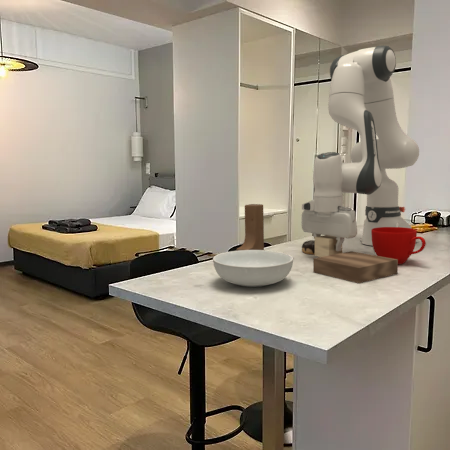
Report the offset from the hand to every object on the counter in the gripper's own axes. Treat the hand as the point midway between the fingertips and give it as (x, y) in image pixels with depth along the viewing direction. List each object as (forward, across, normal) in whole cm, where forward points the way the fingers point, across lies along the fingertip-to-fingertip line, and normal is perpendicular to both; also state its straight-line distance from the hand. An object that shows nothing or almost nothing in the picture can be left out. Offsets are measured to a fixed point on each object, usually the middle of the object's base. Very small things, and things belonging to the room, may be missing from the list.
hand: (328, 249), depth 141 cm
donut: (+4, +12, -8) cm, 15 cm away
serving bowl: (+3, -6, +35) cm, 35 cm away
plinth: (+4, -16, +7) cm, 18 cm away
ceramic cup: (+4, -16, -13) cm, 21 cm away
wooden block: (+4, +16, +18) cm, 25 cm away
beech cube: (+2, 0, 0) cm, 2 cm away
